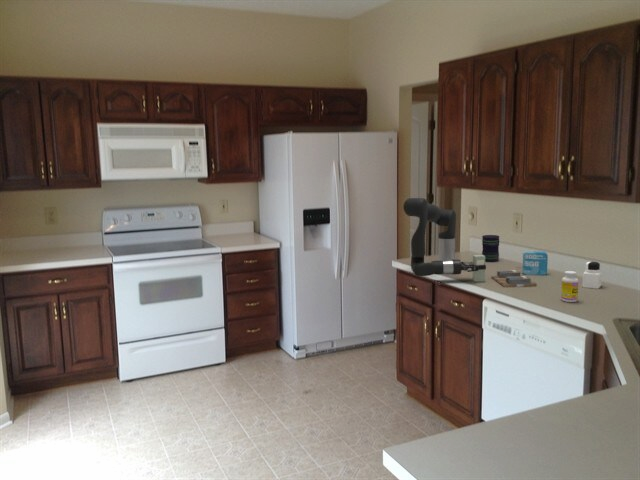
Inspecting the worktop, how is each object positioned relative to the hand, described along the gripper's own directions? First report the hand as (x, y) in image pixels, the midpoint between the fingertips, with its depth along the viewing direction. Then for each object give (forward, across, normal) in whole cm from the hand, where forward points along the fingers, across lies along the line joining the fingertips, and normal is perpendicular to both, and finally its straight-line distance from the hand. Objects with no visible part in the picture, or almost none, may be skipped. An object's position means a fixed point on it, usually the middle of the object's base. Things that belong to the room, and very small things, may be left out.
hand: (484, 266), depth 289 cm
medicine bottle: (+46, -19, +8) cm, 51 cm away
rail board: (+13, -5, +8) cm, 16 cm away
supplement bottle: (+25, -42, +8) cm, 50 cm away
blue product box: (+30, +11, +8) cm, 33 cm away
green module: (-3, 0, +8) cm, 8 cm away
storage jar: (+18, +49, +8) cm, 53 cm away
